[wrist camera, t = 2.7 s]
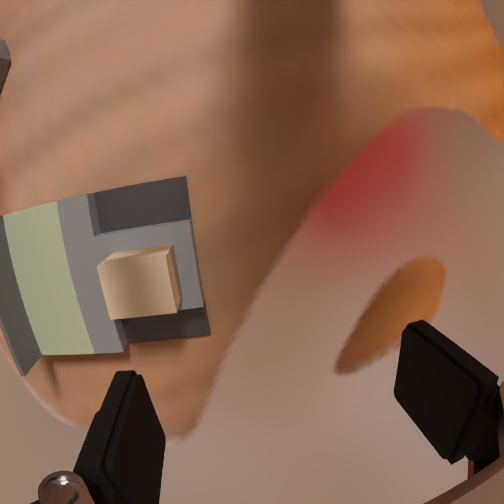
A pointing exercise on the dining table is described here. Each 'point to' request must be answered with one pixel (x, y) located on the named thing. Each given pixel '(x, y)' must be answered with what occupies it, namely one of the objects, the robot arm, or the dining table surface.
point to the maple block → (141, 282)
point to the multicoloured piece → (92, 271)
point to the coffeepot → (3, 62)
